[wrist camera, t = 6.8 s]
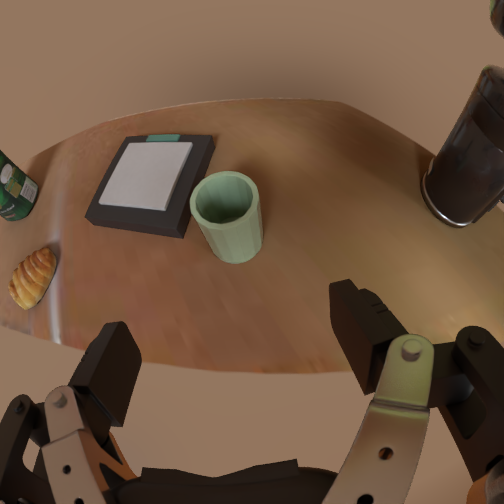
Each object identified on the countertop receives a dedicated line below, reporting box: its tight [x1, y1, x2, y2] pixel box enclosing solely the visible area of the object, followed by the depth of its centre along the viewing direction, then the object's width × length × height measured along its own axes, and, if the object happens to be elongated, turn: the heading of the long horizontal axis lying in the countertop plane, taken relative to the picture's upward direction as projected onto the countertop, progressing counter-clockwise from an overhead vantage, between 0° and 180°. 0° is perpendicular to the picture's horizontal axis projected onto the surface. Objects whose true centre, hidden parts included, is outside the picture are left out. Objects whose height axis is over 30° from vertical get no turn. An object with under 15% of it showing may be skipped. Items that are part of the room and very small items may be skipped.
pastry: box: [8, 248, 56, 310], centre depth 28 cm, size 9×7×4 cm
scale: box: [85, 134, 215, 239], centre depth 32 cm, size 14×14×3 cm
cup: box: [190, 171, 263, 264], centre depth 26 cm, size 6×6×8 cm
